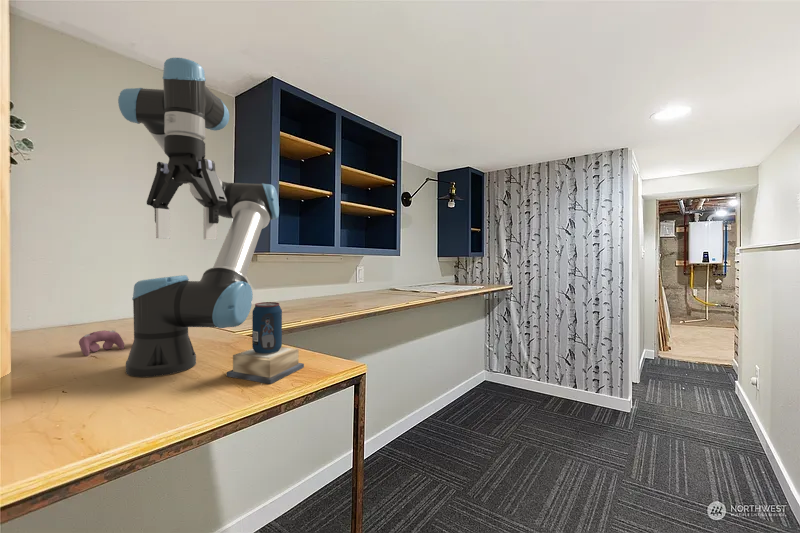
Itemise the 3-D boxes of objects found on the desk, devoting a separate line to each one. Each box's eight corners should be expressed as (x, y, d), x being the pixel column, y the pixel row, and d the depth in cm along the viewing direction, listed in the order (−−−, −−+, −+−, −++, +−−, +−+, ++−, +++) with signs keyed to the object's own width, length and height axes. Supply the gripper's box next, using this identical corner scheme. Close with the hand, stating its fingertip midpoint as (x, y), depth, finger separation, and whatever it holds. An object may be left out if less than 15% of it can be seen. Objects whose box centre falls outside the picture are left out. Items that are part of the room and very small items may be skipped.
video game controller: (121, 352, 113) (116, 330, 115) (126, 347, 111) (121, 325, 112) (79, 360, 105) (75, 336, 106) (84, 355, 103) (80, 331, 104)
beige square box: (226, 376, 90) (226, 354, 90) (263, 361, 103) (263, 342, 102) (270, 384, 86) (270, 361, 86) (303, 367, 98) (304, 347, 98)
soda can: (270, 346, 99) (270, 300, 98) (287, 350, 95) (287, 303, 94) (246, 351, 93) (246, 303, 92) (263, 357, 89) (263, 306, 88)
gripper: (126, 137, 80) (127, 237, 81) (216, 127, 71) (216, 239, 72) (159, 146, 87) (160, 238, 88) (245, 138, 78) (245, 240, 79)
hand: (186, 239), depth 80 cm, fingers open, 13 cm apart
